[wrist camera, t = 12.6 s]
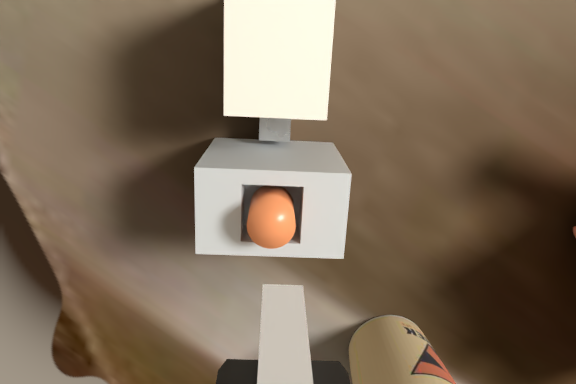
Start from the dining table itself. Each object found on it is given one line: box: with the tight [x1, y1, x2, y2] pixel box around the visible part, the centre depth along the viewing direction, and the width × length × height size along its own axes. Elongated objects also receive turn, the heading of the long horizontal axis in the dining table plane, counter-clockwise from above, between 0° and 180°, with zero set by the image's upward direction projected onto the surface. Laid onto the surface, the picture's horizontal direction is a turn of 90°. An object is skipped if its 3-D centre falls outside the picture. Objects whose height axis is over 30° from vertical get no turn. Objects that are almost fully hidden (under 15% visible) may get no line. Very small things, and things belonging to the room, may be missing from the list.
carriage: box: [224, 0, 336, 120], centre depth 30 cm, size 8×6×11 cm
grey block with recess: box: [194, 138, 351, 259], centre depth 34 cm, size 6×10×10 cm, turn 87°
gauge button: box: [247, 185, 296, 249], centre depth 29 cm, size 3×3×4 cm
